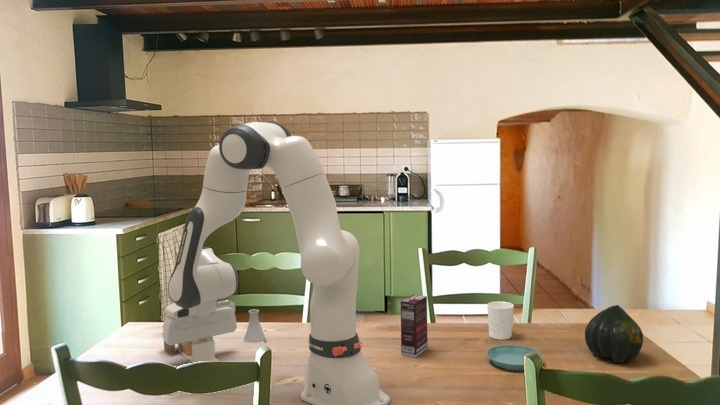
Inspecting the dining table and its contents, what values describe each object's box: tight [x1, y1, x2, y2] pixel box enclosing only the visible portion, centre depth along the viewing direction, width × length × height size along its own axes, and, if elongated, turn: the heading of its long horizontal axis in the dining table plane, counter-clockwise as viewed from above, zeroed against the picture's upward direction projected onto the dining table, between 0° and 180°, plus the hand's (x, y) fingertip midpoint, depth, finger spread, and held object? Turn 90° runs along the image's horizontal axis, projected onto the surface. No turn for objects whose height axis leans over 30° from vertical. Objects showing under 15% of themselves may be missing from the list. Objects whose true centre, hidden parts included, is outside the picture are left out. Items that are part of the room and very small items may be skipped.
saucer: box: [486, 344, 543, 371], centre depth 165 cm, size 15×15×3 cm
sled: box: [177, 339, 219, 363], centre depth 171 cm, size 15×6×6 cm, turn 36°
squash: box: [584, 304, 644, 364], centre depth 168 cm, size 14×15×15 cm
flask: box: [243, 308, 267, 344], centre depth 184 cm, size 7×7×10 cm
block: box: [181, 338, 204, 356], centre depth 174 cm, size 5×5×6 cm
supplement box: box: [400, 294, 429, 358], centre depth 174 cm, size 9×5×16 cm, turn 149°
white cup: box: [487, 300, 515, 340], centre depth 187 cm, size 8×8×10 cm
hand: (202, 353), depth 169 cm, fingers closed
